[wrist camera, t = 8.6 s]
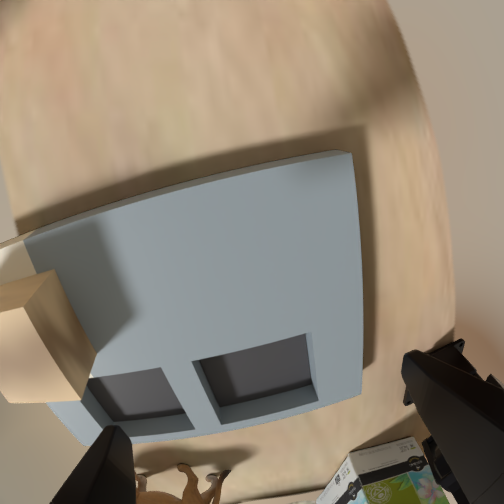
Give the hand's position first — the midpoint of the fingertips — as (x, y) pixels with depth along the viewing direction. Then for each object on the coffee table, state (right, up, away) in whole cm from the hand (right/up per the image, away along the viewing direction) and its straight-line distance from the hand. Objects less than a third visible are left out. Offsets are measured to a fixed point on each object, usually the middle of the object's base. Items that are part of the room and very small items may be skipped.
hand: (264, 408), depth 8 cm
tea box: (+14, -25, +25) cm, 38 cm away
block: (-13, 0, +8) cm, 15 cm away
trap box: (-6, -1, +11) cm, 13 cm away
